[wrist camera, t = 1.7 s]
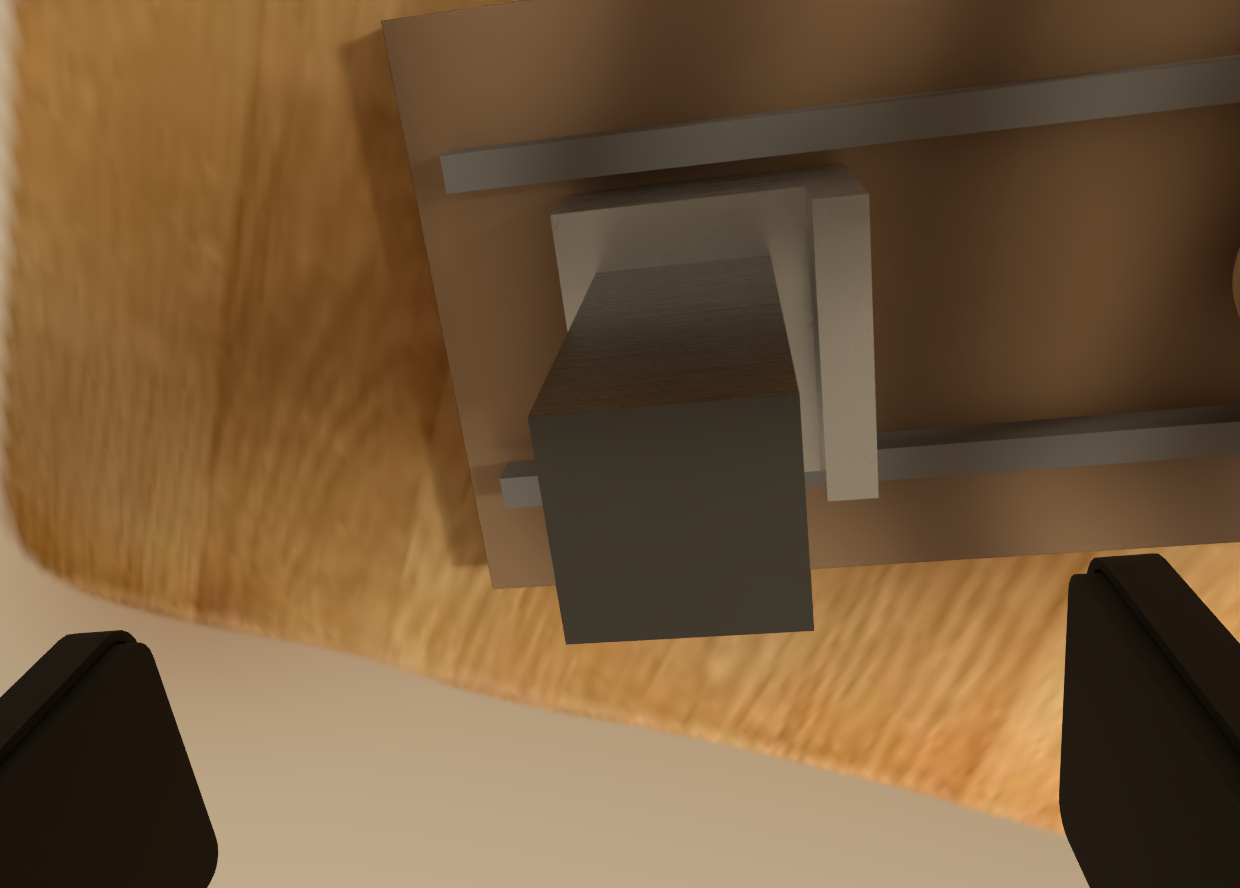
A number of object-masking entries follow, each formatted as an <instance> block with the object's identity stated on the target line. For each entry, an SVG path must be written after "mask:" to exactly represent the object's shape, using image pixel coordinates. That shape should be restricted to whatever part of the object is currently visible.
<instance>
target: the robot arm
mask: <svg viewBox="0 0 1240 888" xmlns="http://www.w3.org/2000/svg"><path fill="white" fill-rule="evenodd" d="M1059 805H1060V813H1061V818H1062V823H1063V827H1064V830H1065V833H1066V836H1067V839H1068V841H1069V843H1070V845H1071V847H1072V850H1073V852H1074V854H1075V856H1076V858H1077V861H1078V863H1079V865H1080V867H1081V869H1082V871H1083V874H1084V876H1085V878H1086V880H1087V882H1088V885H1089V887H1090V888H1240V643H1239V642H1238V641H1237V640H1236V639H1235V638H1234V637H1233V636H1232V634H1231V633H1230V632H1229V631H1228V630H1227V629H1226V628H1225V626H1224V625H1223V624H1222V623H1221V622H1220V621H1219V620H1218V619H1217V617H1216V616H1215V615H1214V614H1213V613H1212V612H1211V611H1210V609H1209V608H1208V607H1207V606H1206V605H1205V604H1204V603H1203V601H1202V600H1201V599H1200V598H1199V597H1198V596H1197V595H1196V594H1195V592H1194V591H1193V590H1192V589H1191V588H1190V587H1189V586H1188V584H1187V583H1186V582H1185V581H1184V580H1183V579H1182V578H1181V577H1180V575H1179V574H1178V573H1177V572H1176V571H1175V570H1174V569H1173V567H1172V566H1171V565H1170V564H1169V563H1168V562H1167V561H1166V559H1165V558H1163V557H1162V556H1161V555H1159V554H1139V555H1126V556H1112V557H1099V558H1094V559H1093V560H1092V561H1091V562H1090V565H1089V567H1088V571H1087V574H1074V575H1073V576H1072V577H1071V580H1070V582H1069V590H1068V611H1067V633H1066V655H1065V677H1064V699H1063V722H1062V744H1061V766H1060V788H1059ZM217 858H218V844H217V840H216V837H215V833H214V830H213V828H212V825H211V822H210V819H209V816H208V813H207V810H206V807H205V805H204V802H203V799H202V796H201V793H200V790H199V787H198V784H197V781H196V778H195V776H194V773H193V770H192V767H191V764H190V761H189V758H188V755H187V753H186V750H185V747H184V744H183V741H182V738H181V735H180V732H179V730H178V727H177V724H176V721H175V718H174V715H173V712H172V709H171V706H170V703H169V700H168V698H167V695H166V692H165V689H164V686H163V683H162V680H161V677H160V675H159V672H158V669H157V666H156V663H155V660H154V657H153V655H152V653H151V651H150V649H149V648H148V647H147V646H146V645H145V644H143V643H137V642H136V639H135V638H134V637H133V636H132V635H131V634H130V633H128V632H126V631H123V630H117V631H104V632H91V633H78V634H70V635H66V636H65V637H63V638H62V639H60V640H59V641H58V642H57V643H56V644H55V645H54V646H53V647H52V648H51V649H50V650H49V651H48V652H47V653H46V654H44V655H43V657H41V658H40V659H39V660H38V661H37V662H36V663H35V664H34V665H33V666H32V667H31V668H30V669H29V670H28V671H27V672H26V673H25V674H24V675H23V676H22V677H21V678H20V679H19V680H18V681H17V682H16V683H15V684H14V685H13V686H12V687H11V688H10V689H9V690H8V691H7V692H6V693H5V694H3V695H2V696H1V697H0V888H207V887H208V885H209V883H210V882H211V880H212V877H213V875H214V873H215V870H216V866H217V860H218V859H217Z"/></svg>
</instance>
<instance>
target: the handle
mask: <svg viewBox="0 0 1240 888" xmlns="http://www.w3.org/2000/svg"><path fill="white" fill-rule="evenodd" d="M550 218H551V225H552V231H553V238H554V245H555V251H556V258H557V265H558V271H559V278H560V285H561V292H562V298H563V305H564V312H565V318H566V325H567V332H568V333H567V335H566V337H565V339H564V341H563V343H562V345H561V348H560V350H559V352H558V354H557V356H556V358H555V360H554V362H553V364H552V367H551V369H550V371H549V373H548V375H547V377H546V379H545V381H544V383H543V386H542V388H541V390H540V392H539V394H538V396H537V398H536V400H535V402H534V405H533V407H532V409H531V411H530V413H529V415H528V423H529V429H530V435H531V441H532V446H533V452H534V458H535V464H536V470H537V476H538V482H539V488H540V494H541V499H542V505H543V511H544V517H545V523H546V529H547V535H548V541H549V547H550V552H551V558H552V564H553V570H554V576H555V582H556V588H557V594H558V600H559V605H560V611H561V617H562V623H563V629H564V635H565V641H566V644H583V643H601V642H619V641H637V640H655V639H673V638H691V637H709V636H727V635H745V634H763V633H781V632H799V631H814V620H813V604H812V588H811V572H810V555H809V539H808V523H807V507H806V490H805V474H804V472H811V471H821V473H822V478H823V482H824V487H825V492H826V496H827V501H842V500H856V499H870V498H879V493H878V461H877V430H876V399H875V367H874V336H873V304H872V273H871V241H870V210H869V193H868V192H867V191H866V189H865V188H864V187H863V186H862V184H861V183H860V182H859V181H858V180H857V178H856V177H855V176H854V175H853V174H852V172H851V171H850V170H849V169H848V167H847V166H846V165H845V164H844V163H839V164H830V165H821V166H812V167H804V168H795V169H786V170H777V171H769V172H760V173H751V174H742V175H733V176H725V177H716V178H707V179H698V180H689V181H681V182H672V183H663V184H654V185H645V186H637V187H628V188H619V189H610V190H601V191H593V192H584V193H575V194H567V195H566V197H565V198H564V199H563V200H562V201H561V203H560V204H559V205H558V206H557V207H556V209H555V210H554V211H553V212H552V213H551V215H550Z"/></svg>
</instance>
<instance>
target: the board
mask: <svg viewBox="0 0 1240 888" xmlns="http://www.w3.org/2000/svg"><path fill="white" fill-rule="evenodd" d="M381 23H382V28H383V33H384V38H385V43H386V48H387V53H388V58H389V63H390V68H391V74H392V79H393V84H394V89H395V94H396V99H397V104H398V109H399V114H400V119H401V124H402V129H403V134H404V140H405V145H406V150H407V155H408V160H409V165H410V170H411V175H412V180H413V185H414V190H415V195H416V200H417V206H418V211H419V216H420V221H421V226H422V231H423V236H424V241H425V246H426V251H427V256H428V261H429V267H430V272H431V277H432V282H433V287H434V292H435V297H436V302H437V307H438V312H439V317H440V322H441V327H442V333H443V338H444V343H445V348H446V353H447V358H448V363H449V368H450V373H451V378H452V383H453V388H454V393H455V399H456V404H457V409H458V414H459V419H460V424H461V429H462V434H463V439H464V444H465V449H466V454H467V459H468V465H469V470H470V475H471V480H472V485H473V490H474V495H475V500H476V505H477V510H478V515H479V520H480V525H481V531H482V536H483V541H484V546H485V551H486V556H487V561H488V566H489V571H490V576H491V581H492V586H493V589H503V588H519V587H535V586H550V585H556V582H555V576H554V570H553V564H552V558H551V552H550V547H549V541H548V535H547V529H546V523H545V517H544V511H543V505H542V499H541V494H540V488H539V482H538V476H537V470H536V464H535V458H534V452H533V446H532V441H531V435H530V429H529V423H528V415H529V413H530V411H531V409H532V407H533V405H534V402H535V400H536V398H537V396H538V394H539V392H540V390H541V388H542V386H543V383H544V381H545V379H546V377H547V375H548V373H549V371H550V369H551V367H552V364H553V362H554V360H555V358H556V356H557V354H558V352H559V350H560V348H561V345H562V343H563V341H564V339H565V337H566V335H567V333H568V332H567V325H566V318H565V312H564V305H563V298H562V292H561V285H560V278H559V271H558V265H557V258H556V251H555V245H554V238H553V231H552V225H551V218H550V215H551V213H552V212H553V211H554V210H555V209H556V207H557V206H558V205H559V204H560V203H561V201H562V200H563V199H564V198H565V197H566V195H567V194H575V193H584V192H593V191H601V190H610V189H619V188H628V187H637V186H645V185H654V184H663V183H672V182H681V181H689V180H698V179H707V178H716V177H725V176H733V175H742V174H751V173H760V172H769V171H777V170H786V169H795V168H804V167H812V166H821V165H830V164H839V163H844V164H845V165H846V166H847V167H848V169H849V170H850V171H851V172H852V174H853V175H854V176H855V177H856V178H857V180H858V181H859V182H860V183H861V184H862V186H863V187H864V188H865V189H866V191H867V192H868V193H869V210H870V241H871V273H872V304H873V336H874V367H875V399H876V430H877V461H878V493H879V498H870V499H856V500H842V501H827V496H826V492H825V487H824V482H823V478H822V473H821V471H811V472H804V474H805V490H806V507H807V523H808V539H809V555H810V569H819V568H835V567H851V566H866V565H882V564H898V563H914V562H930V561H945V560H961V559H977V558H993V557H1009V556H1024V555H1040V554H1056V553H1072V552H1088V551H1103V550H1119V549H1135V548H1151V547H1167V546H1182V545H1198V544H1214V543H1230V542H1240V0H526V1H519V2H512V3H505V4H498V5H491V6H483V7H476V8H469V9H462V10H455V11H448V12H440V13H433V14H426V15H419V16H412V17H405V18H397V19H390V20H383V21H381Z"/></svg>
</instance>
